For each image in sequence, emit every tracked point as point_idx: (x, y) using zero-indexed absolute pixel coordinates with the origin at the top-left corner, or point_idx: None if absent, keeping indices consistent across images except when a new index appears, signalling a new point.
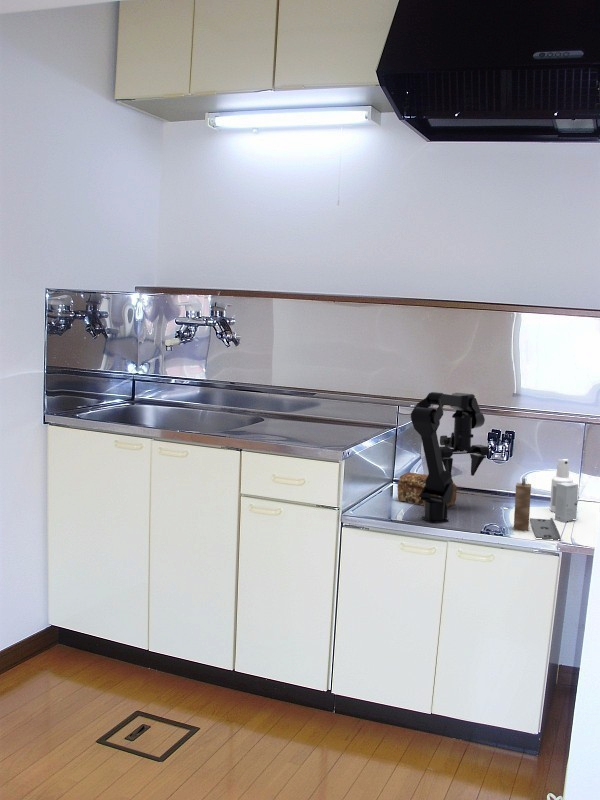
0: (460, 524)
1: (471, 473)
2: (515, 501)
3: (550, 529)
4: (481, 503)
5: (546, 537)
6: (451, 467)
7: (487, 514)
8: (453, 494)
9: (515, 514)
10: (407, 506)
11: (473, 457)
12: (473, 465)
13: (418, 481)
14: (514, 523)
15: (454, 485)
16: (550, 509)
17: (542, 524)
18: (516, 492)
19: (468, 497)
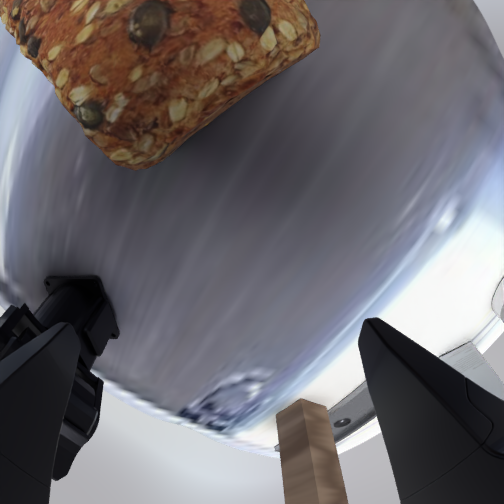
0: (150, 361)
1: (370, 338)
2: (283, 479)
3: (342, 428)
4: (418, 112)
5: None
6: (53, 449)
7: (322, 286)
8: (264, 81)
9: (281, 449)
10: (42, 89)
11: (475, 502)
12: (408, 433)
13: (15, 32)
14: (278, 429)
15: (281, 63)
16: (501, 284)
17: (362, 407)
18: (286, 501)
19: (414, 8)
